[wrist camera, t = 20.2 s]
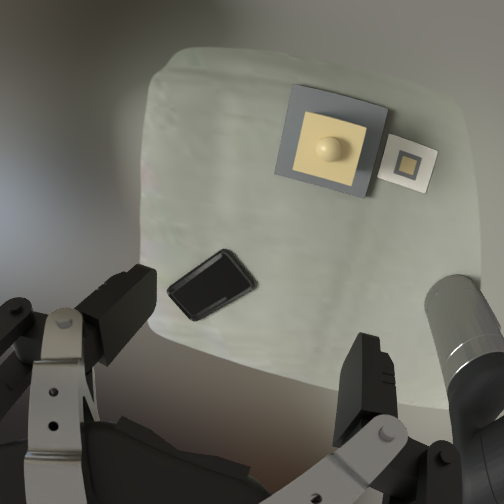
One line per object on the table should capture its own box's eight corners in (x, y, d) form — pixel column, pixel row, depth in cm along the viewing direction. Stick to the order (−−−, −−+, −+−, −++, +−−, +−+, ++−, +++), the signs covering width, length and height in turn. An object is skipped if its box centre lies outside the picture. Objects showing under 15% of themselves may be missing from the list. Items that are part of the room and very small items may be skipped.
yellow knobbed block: (363, 126, 31) (367, 128, 26) (349, 177, 34) (351, 188, 29) (309, 111, 32) (304, 111, 27) (298, 162, 35) (291, 171, 30)
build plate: (386, 108, 34) (389, 108, 32) (363, 196, 40) (364, 200, 38) (293, 84, 36) (291, 83, 34) (275, 172, 41) (272, 175, 39)
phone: (164, 290, 54) (223, 248, 47) (167, 287, 55) (226, 245, 48) (193, 323, 56) (256, 287, 49) (195, 320, 57) (258, 284, 50)
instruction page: (437, 151, 34) (438, 151, 34) (424, 193, 37) (425, 193, 37) (388, 133, 35) (389, 133, 35) (377, 177, 38) (377, 177, 38)
